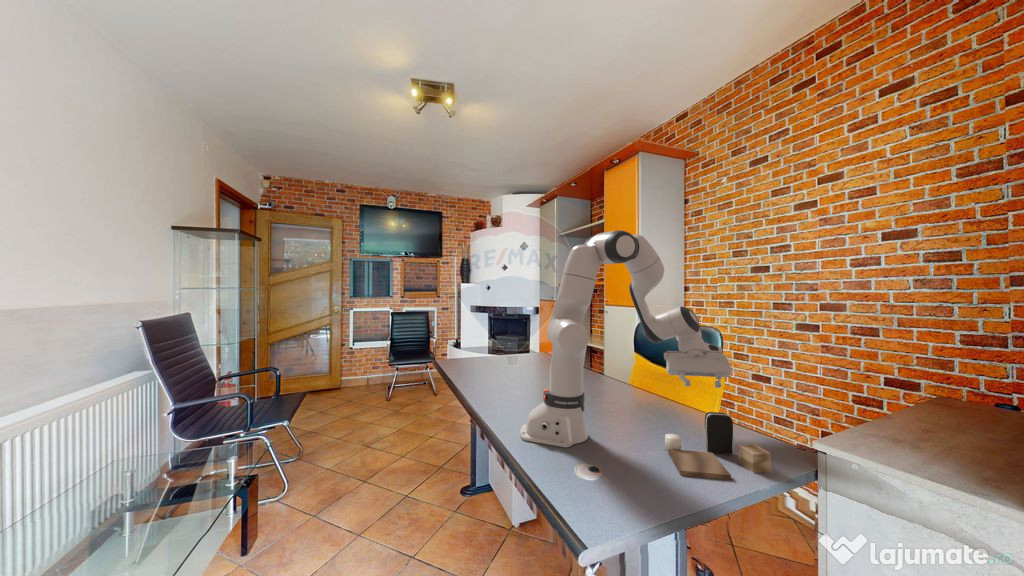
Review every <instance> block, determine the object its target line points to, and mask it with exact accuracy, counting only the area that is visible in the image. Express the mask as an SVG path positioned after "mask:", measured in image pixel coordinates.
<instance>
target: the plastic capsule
mask: <svg viewBox="0 0 1024 576" xmlns="http://www.w3.org/2000/svg"><path fill="white" fill-rule="evenodd" d="M668 449H674V450H682V437H681V436H680V435H678V434H676V433H675V434H674V433H666V434H665V435H664V450H665V451H667V452H668Z"/></svg>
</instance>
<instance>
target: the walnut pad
mask: <svg viewBox="0 0 1024 576" xmlns="http://www.w3.org/2000/svg"><path fill="white" fill-rule="evenodd" d="M667 453H668V456H669V457H670V459H671V461H672V462H673V465H674V467H675V469H676V470H677V471H678V474H679V476H687V477H698V478H709V479H716V480H717V479H718V480H730V481H731V480H732V475H731V473H730V472H729V470H727V469H726V467H725V466H724V464H722V462H721V461H720V460H719V458H718V457H717V456H716V455H715V453H712V452H708V451H698V450H685V449H681V450H674V449H668V451H667Z"/></svg>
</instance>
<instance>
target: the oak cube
mask: <svg viewBox="0 0 1024 576" xmlns="http://www.w3.org/2000/svg"><path fill="white" fill-rule="evenodd" d="M771 454H772V453H771V452H769V451H768V450H765V449H764V448H762V447H761V446H759V445H757V444H740V445H738V463H739V464H740V465H741V466H743V467H744V468H745V469H747V470H748V469H749V471H750V472H751V471H752V472H751V473H753V472H755V473H771V469H772V468H771V467H772V465H771V464H772V463H771V462H772V460H771V459H772V455H771Z"/></svg>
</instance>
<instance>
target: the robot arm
mask: <svg viewBox="0 0 1024 576" xmlns="http://www.w3.org/2000/svg"><path fill="white" fill-rule="evenodd" d="M615 264H624V266H625V268H626V269H627V271H628V272H629V275H630V277H631V282H630V284H629V285H628V288H629V293H630V298H631V300H632V303H633V306H634V309H635V311H636V313H637V317H638V319H639V321H640V324H641V327H642V331H643V335H644V336H645V338H646V339H647V341H650V342H651V343H654V344H660V343H663V342H665V341H667V340H669V339H673V338H675V339H676V341H677V346H678V350H666V351H665V352H663V358H664V360H665V363H666V364H665V365H666V367H665V368H666V372H667V374H668V375H669V376H678V378H679V379H680V380H681V381H682V382H683V385H684V386H685V387H690V386H691V380H690V379H688V378H686V377H709V378H711V377H713V378H715V379H716V380H714V383H713V385H714V388H715V389H717V388H718V389H721V388H722V382H721V381H722V379H723V378H729V377H730V376H731V374H732V372H733V368H732V366H731V363H730V361H729V359H728V357H727V356H726V355H725V354H724V353H723V349H722V347H721V346H718V345H714V344H711V343H708V342H705V341H704V339H703V338H702V336H703V334H702V331H701V329H700V328H701V327H700V323H699V320H698V317H697V315H696V314H695V312H694V311H693V310H692V309H690V308H689V307H685V306H682V305H681V306H676V307H674V308H672V309H669V310H668V311H665V312H661V313H659V314H655V315H653V314H651V312H650V311H651V310H650V309H649V306H648V304H647V301H646V297H647V296H648V295H649V293H651V292H652V290H654V289H655V288H656V287H657V286H658V285H659V284H660V282H662V279H663V277H664V275H665V267H664V264H663V261H662V260H661V258H660V256H659V255H658V253H657V252H656V250H655V249H654V247H653V246H652V245H651V243H650V242H649V241H648V240H647V239H646V237H644V236H643V235H641V234H632V233H631V232H629V231H625V230H619V229H618V230H614V231H613V230H611V231H604V232H600V233H597V234H593V235H591V236H590V237H588V239H587V240H585V242H584V244H577V245H575V246H573V247H572V249H571V250H570V252H569V254H568V257H567V259H566V260H565V264H564V268H563V271H562V276H561V281H560V285H559V289H558V292H557V298H556V300H555V303H554V306H553V309H552V311H551V315H550V318H549V321H548V325H547V328H546V336H547V339H548V341H549V342H550V343H551V359H550V366H549V389H548V388H544V390H543V392H542V394H543V398H542V399H543V402H541V403H540V404H538V405H537V406H536V407H533V409H532V410H530V411H529V414H528V416H527V418H526V422H524V424H522V426H521V427H520V430H519V436H520V439H521V440H523V441H526V442H533V443H538V444H544V445H548V446H549V445H550V446H554V447H561V448H569V447H571V446H573V445H576V444H581V443H583V442H585V441H587V440H588V439H589V433H588V431H587V430H588V429H587V425H586V419H585V408H586V406H585V405H586V397H585V393H584V364H585V361H586V353H587V347H588V344H589V341H590V340H589V339H590V336H589V333H588V331H587V328H586V327H585V326H584V324H582V322H583V320H584V318H585V316H586V313H587V311H588V309H589V307H590V306H591V302H592V299H593V294H594V290H595V285H596V281H597V276H598V275H597V274H598V271H599V269H600V267H601V266H602V265H615Z"/></svg>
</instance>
